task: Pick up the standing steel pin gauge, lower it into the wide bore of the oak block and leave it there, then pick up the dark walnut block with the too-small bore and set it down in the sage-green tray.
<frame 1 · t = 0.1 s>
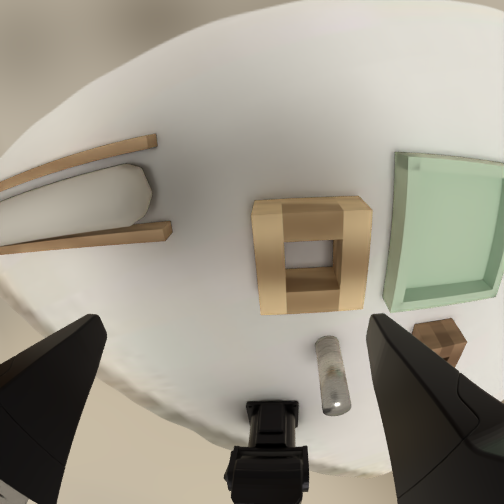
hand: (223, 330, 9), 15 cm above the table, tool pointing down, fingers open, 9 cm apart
tube rest: (50, 204, 23), on the table
oak block: (308, 246, 23), on the table
pin gauge: (327, 344, 27), on the table
walnut block: (428, 338, 27), on the table
tray: (452, 228, 21), on the table
tube: (53, 204, 24), on the table
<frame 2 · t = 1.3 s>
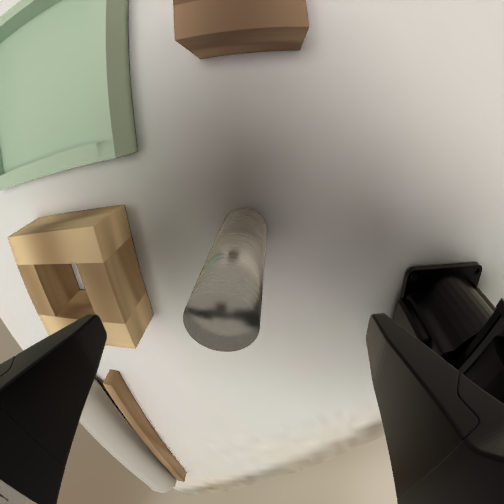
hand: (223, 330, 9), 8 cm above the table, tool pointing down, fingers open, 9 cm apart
tube rest: (131, 431, 29), on the table
oak block: (91, 265, 18), on the table
pin gauge: (244, 229, 16), on the table
walnut block: (245, 11, 11), on the table
tray: (46, 78, 12), on the table
tube: (131, 429, 29), on the table
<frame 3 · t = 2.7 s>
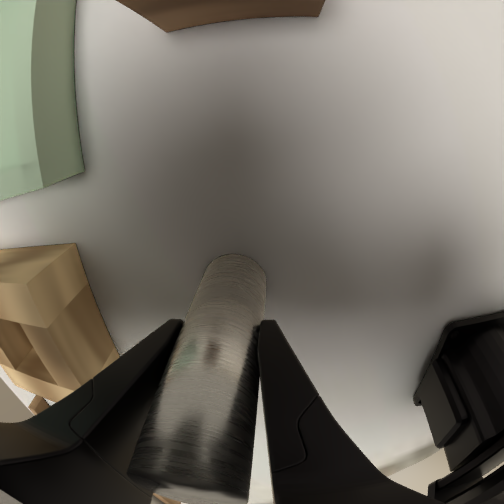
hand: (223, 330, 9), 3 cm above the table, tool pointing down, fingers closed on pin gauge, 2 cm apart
tube rest: (120, 465, 24), on the table
oak block: (50, 311, 13), on the table
pin gauge: (235, 282, 11), on the table, touching gripper
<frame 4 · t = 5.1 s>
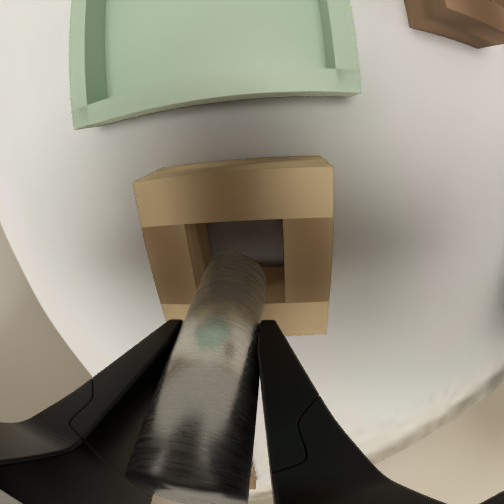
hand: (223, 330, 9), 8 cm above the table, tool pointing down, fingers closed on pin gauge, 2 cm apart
oak block: (245, 234, 15), on the table
pin gauge: (234, 281, 11), point 5 cm above the table, touching gripper
walnut block: (439, 1, 8), on the table
when the fingers open (4 cm above the table, at t = 6.0 s): pin gauge drops 2 cm, resting in oak block.
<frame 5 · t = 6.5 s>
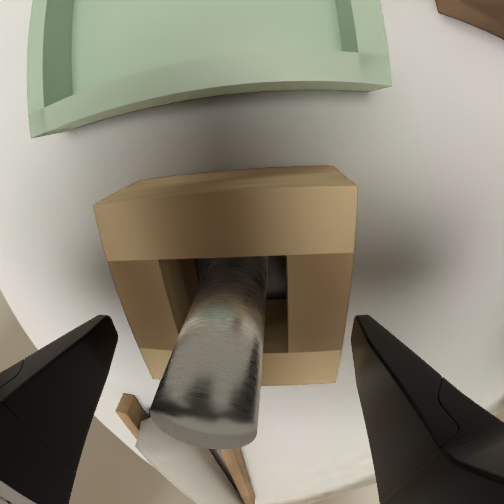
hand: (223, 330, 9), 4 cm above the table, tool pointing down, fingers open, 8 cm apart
tube rest: (207, 466, 24), on the table
oak block: (239, 262, 13), on the table
pin gauge: (240, 260, 13), resting in oak block
tube: (206, 463, 24), on the table
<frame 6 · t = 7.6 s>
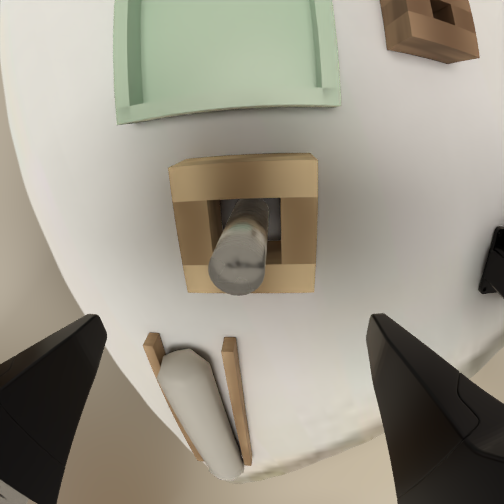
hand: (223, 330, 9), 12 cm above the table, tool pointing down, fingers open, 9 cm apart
tube rest: (212, 413, 30), on the table
oak block: (250, 213, 19), on the table
pin gauge: (251, 212, 19), resting in oak block
walnut block: (415, 25, 12), on the table
tray: (222, 19, 14), on the table
tube: (211, 411, 31), on the table
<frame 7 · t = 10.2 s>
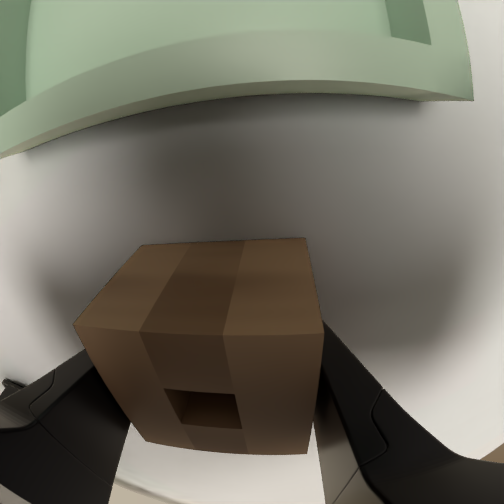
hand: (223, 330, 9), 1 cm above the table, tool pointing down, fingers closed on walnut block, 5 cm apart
walnut block: (228, 310, 9), on the table, touching gripper
when the fingers open (3 cm above the table, at t = 13.8 s): walnut block drops 1 cm, resting on tray.
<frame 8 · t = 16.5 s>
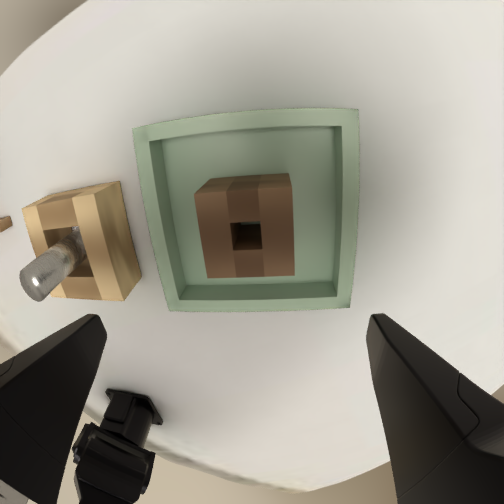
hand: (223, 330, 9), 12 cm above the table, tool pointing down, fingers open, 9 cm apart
oak block: (90, 234, 21), on the table
pin gauge: (91, 235, 21), resting in oak block
walnut block: (252, 212, 19), resting on tray
tray: (252, 209, 19), on the table
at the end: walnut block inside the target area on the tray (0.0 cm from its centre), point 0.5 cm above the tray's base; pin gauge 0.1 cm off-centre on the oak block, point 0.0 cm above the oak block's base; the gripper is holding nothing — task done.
